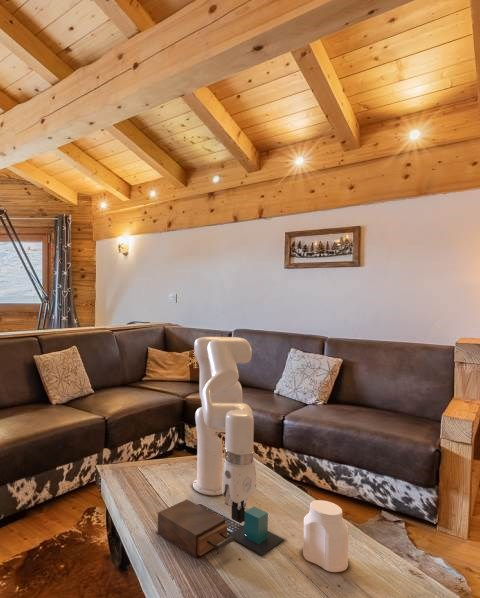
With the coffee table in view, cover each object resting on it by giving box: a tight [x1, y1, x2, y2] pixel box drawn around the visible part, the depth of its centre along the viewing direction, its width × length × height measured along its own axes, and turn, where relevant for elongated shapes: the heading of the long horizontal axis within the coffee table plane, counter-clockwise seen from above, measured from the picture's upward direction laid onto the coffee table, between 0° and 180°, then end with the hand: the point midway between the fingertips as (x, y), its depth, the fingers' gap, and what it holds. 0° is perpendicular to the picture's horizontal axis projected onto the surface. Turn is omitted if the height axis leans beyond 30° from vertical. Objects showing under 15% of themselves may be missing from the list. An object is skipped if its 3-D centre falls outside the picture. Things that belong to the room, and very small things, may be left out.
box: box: [243, 506, 269, 544], centre depth 131 cm, size 5×5×8 cm
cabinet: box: [157, 498, 226, 559], centre depth 132 cm, size 16×14×7 cm
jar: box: [302, 499, 350, 573], centre depth 121 cm, size 12×10×15 cm
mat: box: [227, 525, 285, 557], centre depth 131 cm, size 12×12×1 cm
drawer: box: [197, 522, 235, 557], centre depth 129 cm, size 19×12×5 cm, turn 38°
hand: (237, 520), depth 118 cm, fingers closed
